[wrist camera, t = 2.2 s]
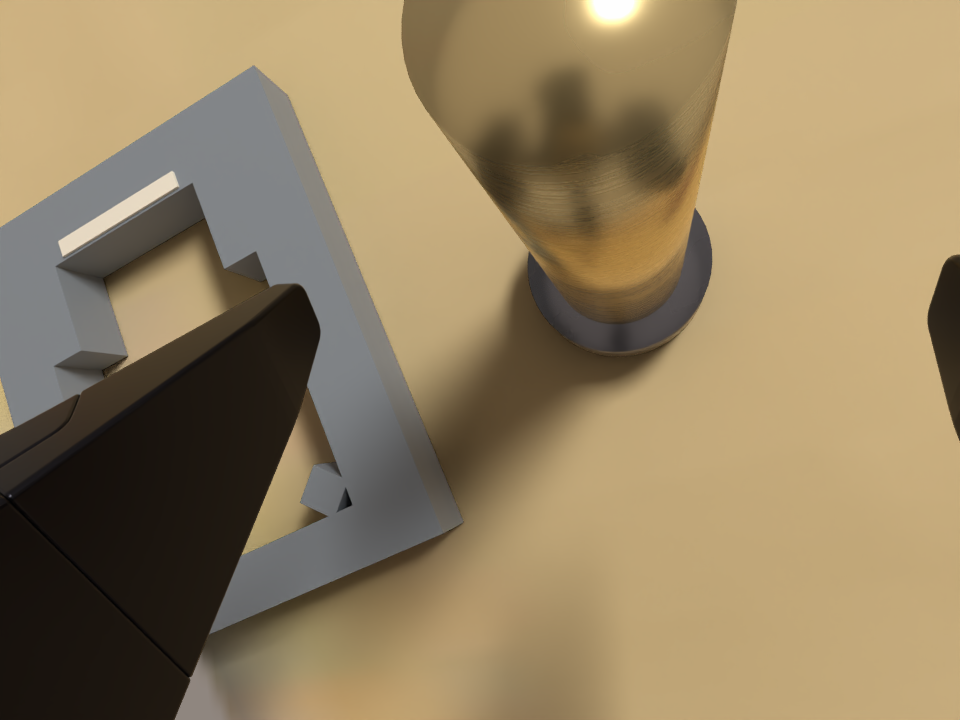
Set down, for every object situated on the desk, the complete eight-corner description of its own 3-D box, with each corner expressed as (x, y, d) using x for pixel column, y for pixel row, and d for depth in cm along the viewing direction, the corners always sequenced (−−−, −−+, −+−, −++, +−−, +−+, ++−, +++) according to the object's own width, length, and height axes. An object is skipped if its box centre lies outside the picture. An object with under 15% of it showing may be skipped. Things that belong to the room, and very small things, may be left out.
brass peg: (662, 384, 19) (684, 314, 6) (510, 316, 20) (271, 144, 7) (737, 227, 18) (918, -178, 6) (578, 169, 20) (452, -259, 7)
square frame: (463, 522, 20) (442, 534, 18) (136, 663, 22) (84, 688, 20) (287, 95, 23) (252, 63, 21) (16, 263, 25) (-39, 249, 23)
